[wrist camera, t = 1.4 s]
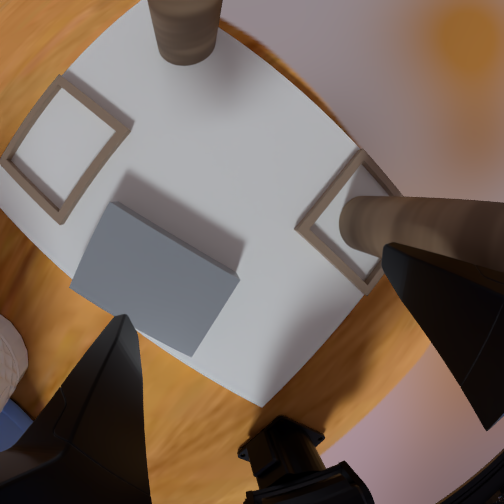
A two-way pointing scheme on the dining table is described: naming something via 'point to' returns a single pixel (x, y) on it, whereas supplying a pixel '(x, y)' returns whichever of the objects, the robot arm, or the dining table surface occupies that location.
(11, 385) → the white cup
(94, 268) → the cover
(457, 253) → the pin
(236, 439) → the dining table surface
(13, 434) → the water jug
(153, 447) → the dining table surface
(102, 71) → the board
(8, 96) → the dining table surface
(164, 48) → the pin
